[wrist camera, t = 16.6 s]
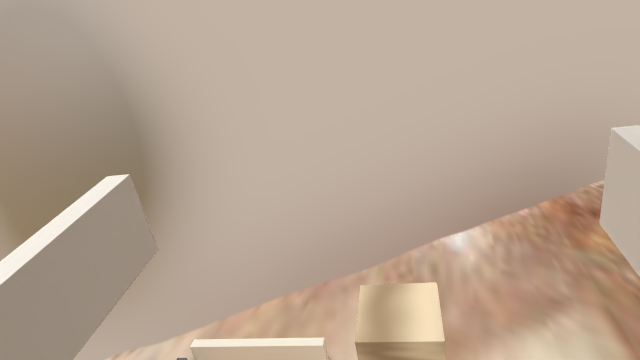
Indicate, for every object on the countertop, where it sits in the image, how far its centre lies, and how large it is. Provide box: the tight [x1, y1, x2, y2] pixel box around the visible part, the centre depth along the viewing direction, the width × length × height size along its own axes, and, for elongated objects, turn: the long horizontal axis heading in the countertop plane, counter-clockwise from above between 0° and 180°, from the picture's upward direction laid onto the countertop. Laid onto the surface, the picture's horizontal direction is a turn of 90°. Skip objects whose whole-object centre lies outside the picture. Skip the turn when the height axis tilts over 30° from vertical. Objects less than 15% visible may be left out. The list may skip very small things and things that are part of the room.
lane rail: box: [190, 338, 329, 360], centre depth 46 cm, size 14×1×3 cm, turn 82°
